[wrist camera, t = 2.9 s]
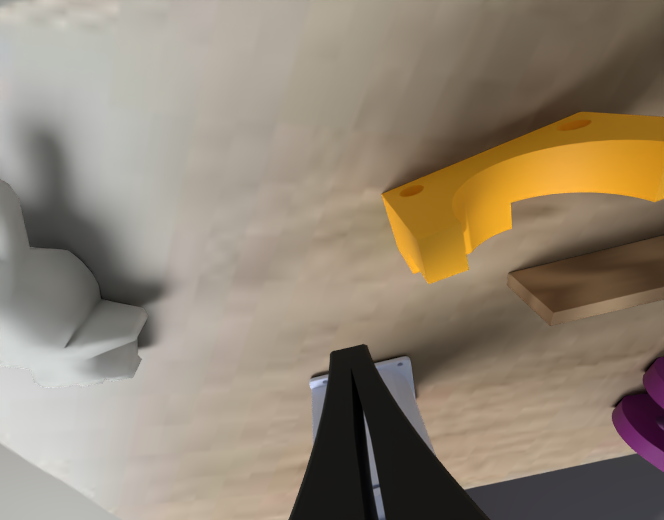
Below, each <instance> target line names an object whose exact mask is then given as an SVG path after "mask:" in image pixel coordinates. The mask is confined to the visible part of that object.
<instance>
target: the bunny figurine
mask: <svg viewBox="0 0 664 520" xmlns="http://www.w3.org/2000/svg"><path fill="white" fill-rule="evenodd" d="M147 318H148V316H147V314H146V312H145V310H144V308H142V307H137V306H132V305H126V304H121V303H116V302H112V301H108V300H104V299H101V296H100V290H99V284H98V282H97V281H96V279H95V277H94V276H93V274H92V272H91V271H90V270H89V269H88V268H87V267H86V266H85V264H84V263H83V262H82V261H81V260H80V259H78V258H77V257H76V256H75V255H73V254H72V253H71V252H70V251H69V250H62V249H48V248H35V247H30V246H29V241H28V237H27V233H26V228H25V224H24V219H23V215H22V211H21V206H20V202H19V198H18V197H17V195H16V194H15V192H14V191H13V189H12V188H11V186H10V185H9V184H8V183H6V182H5V181H3V180H1V179H0V367H10V368H22V369H27V370H31V373H32V377H33V381H34V383H36V384H38V385H39V386H41V387H43V388H60V387H66V386H72V385H77V384H78V385H79V386H81V387H84V386H90V385H95V384H101V383H103V382H104V380H105V379H106V380H109V381H117V380H123V379H128V378H133V377H134V375H135V372H136V370H137V368H138V366H139V364H140V362H141V360H142V359H141V358H140V357H139V356H138V340H137V337H138V335H139V333H140V331H141V329H142V328H143V326H144V324H145V322H146V320H147Z"/></svg>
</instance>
